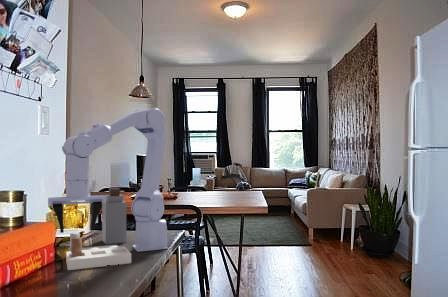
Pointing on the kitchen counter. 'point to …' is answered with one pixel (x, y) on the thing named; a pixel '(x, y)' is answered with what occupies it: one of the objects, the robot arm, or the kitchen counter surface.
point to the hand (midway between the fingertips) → (77, 230)
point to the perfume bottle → (114, 218)
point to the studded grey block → (88, 247)
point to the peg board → (98, 258)
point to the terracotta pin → (76, 246)
